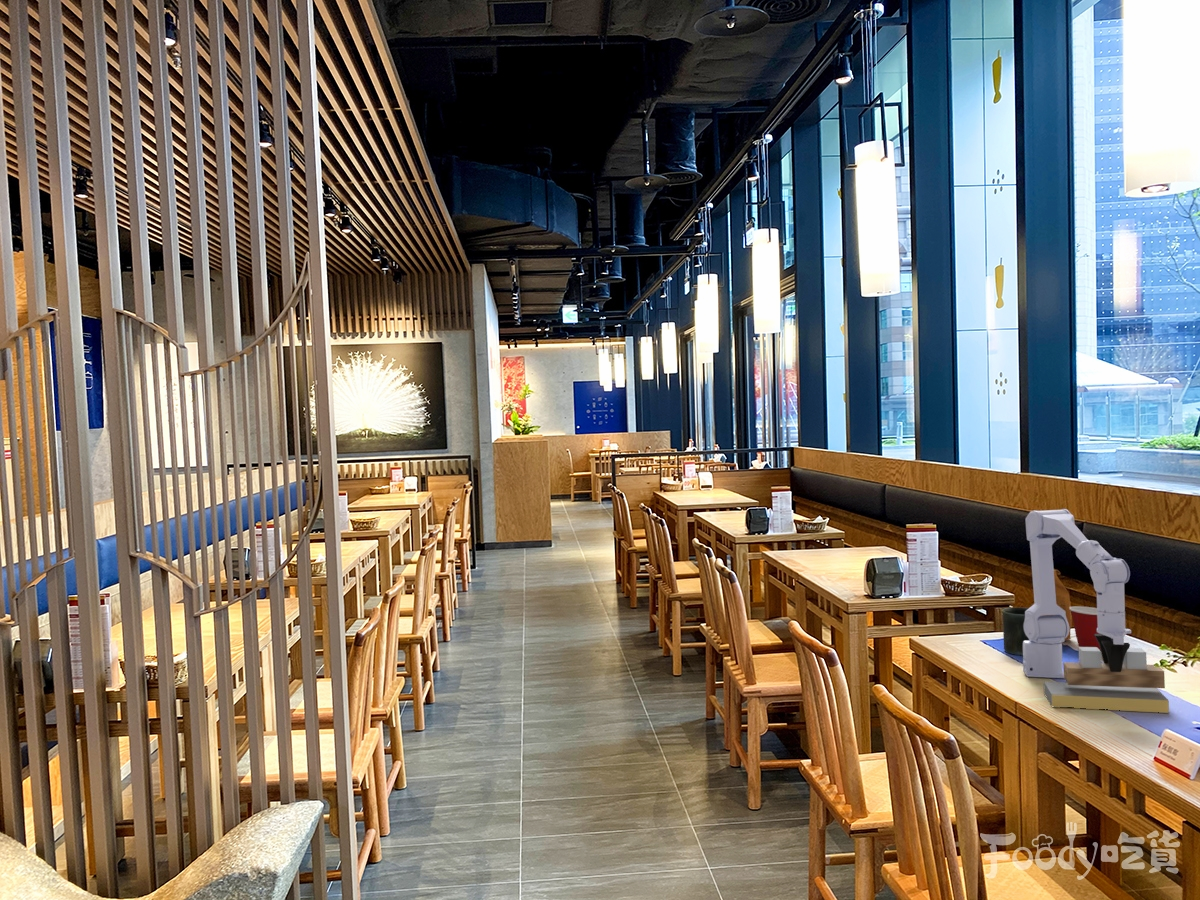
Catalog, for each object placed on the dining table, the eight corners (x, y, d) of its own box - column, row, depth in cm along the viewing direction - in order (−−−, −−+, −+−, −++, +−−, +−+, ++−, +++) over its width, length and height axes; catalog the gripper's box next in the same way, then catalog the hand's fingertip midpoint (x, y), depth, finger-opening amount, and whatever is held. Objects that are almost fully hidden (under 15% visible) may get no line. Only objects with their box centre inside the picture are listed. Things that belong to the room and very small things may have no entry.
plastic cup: (1120, 653, 258) (1119, 611, 258) (1082, 654, 258) (1080, 612, 258) (1099, 644, 269) (1098, 604, 268) (1063, 645, 269) (1061, 605, 269)
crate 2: (1127, 668, 211) (1126, 651, 211) (1122, 664, 215) (1122, 647, 215) (1146, 669, 210) (1146, 652, 210) (1142, 665, 214) (1141, 648, 213)
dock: (1052, 707, 212) (1051, 694, 212) (1044, 693, 223) (1044, 681, 223) (1169, 713, 205) (1168, 700, 205) (1155, 698, 216) (1154, 686, 216)
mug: (1005, 656, 260) (1004, 614, 260) (997, 644, 274) (996, 604, 274) (1047, 657, 257) (1045, 615, 257) (1036, 645, 271) (1035, 605, 271)
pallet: (1068, 685, 214) (1067, 668, 214) (1064, 678, 219) (1063, 662, 219) (1164, 688, 208) (1164, 671, 208) (1157, 681, 213) (1157, 664, 213)
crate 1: (1082, 667, 214) (1082, 650, 214) (1079, 663, 217) (1078, 646, 217) (1101, 668, 212) (1101, 651, 212) (1097, 663, 216) (1097, 647, 216)
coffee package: (1066, 633, 283) (1064, 563, 283) (1074, 643, 272) (1072, 570, 271) (1031, 632, 287) (1029, 563, 286) (1037, 641, 275) (1035, 569, 274)
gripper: (1138, 617, 205) (1139, 677, 205) (1122, 605, 219) (1124, 661, 219) (1103, 616, 207) (1104, 675, 208) (1089, 604, 221) (1091, 659, 221)
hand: (1112, 668), depth 213 cm, fingers closed on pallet, 6 cm apart
